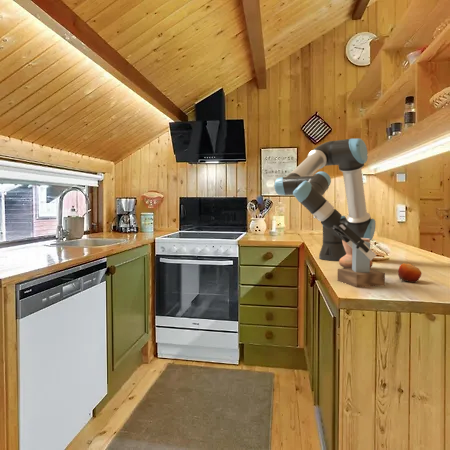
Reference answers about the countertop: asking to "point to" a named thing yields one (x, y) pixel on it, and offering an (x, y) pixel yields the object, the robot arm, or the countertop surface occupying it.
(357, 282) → the walnut slab
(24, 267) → the countertop surface
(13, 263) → the countertop surface
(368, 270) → the pillar
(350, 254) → the ceramic jug
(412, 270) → the fruit
